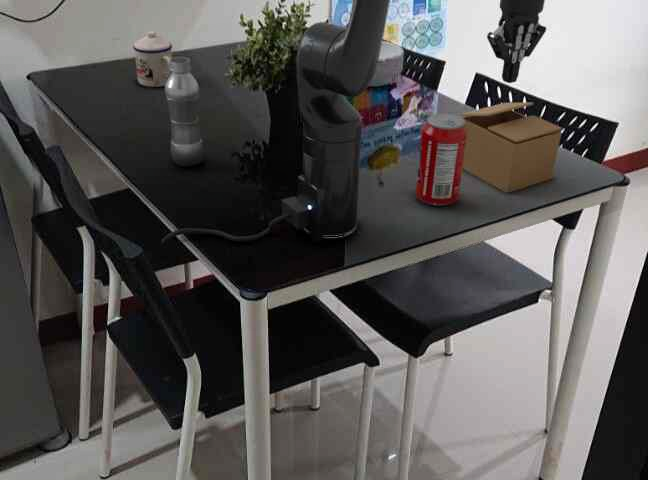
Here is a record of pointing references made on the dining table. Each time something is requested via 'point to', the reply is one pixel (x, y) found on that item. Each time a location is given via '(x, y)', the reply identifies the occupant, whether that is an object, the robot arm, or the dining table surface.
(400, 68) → the paper bowls
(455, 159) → the soda can
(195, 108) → the plastic bottle
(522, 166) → the carton
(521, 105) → the flap
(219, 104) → the dining table surface
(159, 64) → the teacup with lid
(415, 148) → the dining table surface
